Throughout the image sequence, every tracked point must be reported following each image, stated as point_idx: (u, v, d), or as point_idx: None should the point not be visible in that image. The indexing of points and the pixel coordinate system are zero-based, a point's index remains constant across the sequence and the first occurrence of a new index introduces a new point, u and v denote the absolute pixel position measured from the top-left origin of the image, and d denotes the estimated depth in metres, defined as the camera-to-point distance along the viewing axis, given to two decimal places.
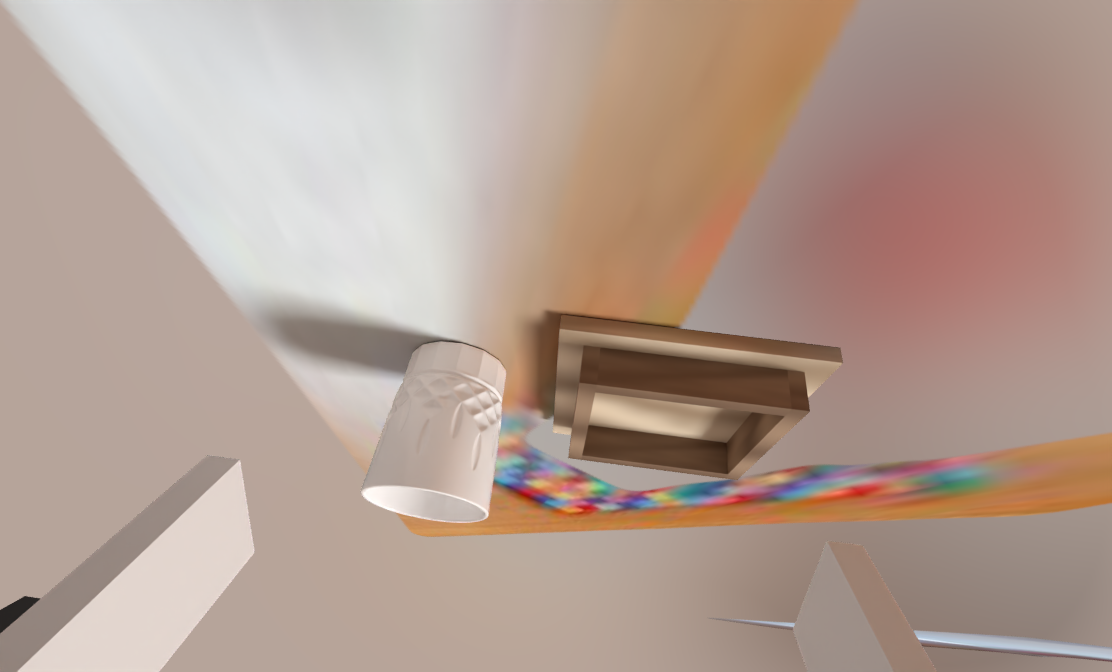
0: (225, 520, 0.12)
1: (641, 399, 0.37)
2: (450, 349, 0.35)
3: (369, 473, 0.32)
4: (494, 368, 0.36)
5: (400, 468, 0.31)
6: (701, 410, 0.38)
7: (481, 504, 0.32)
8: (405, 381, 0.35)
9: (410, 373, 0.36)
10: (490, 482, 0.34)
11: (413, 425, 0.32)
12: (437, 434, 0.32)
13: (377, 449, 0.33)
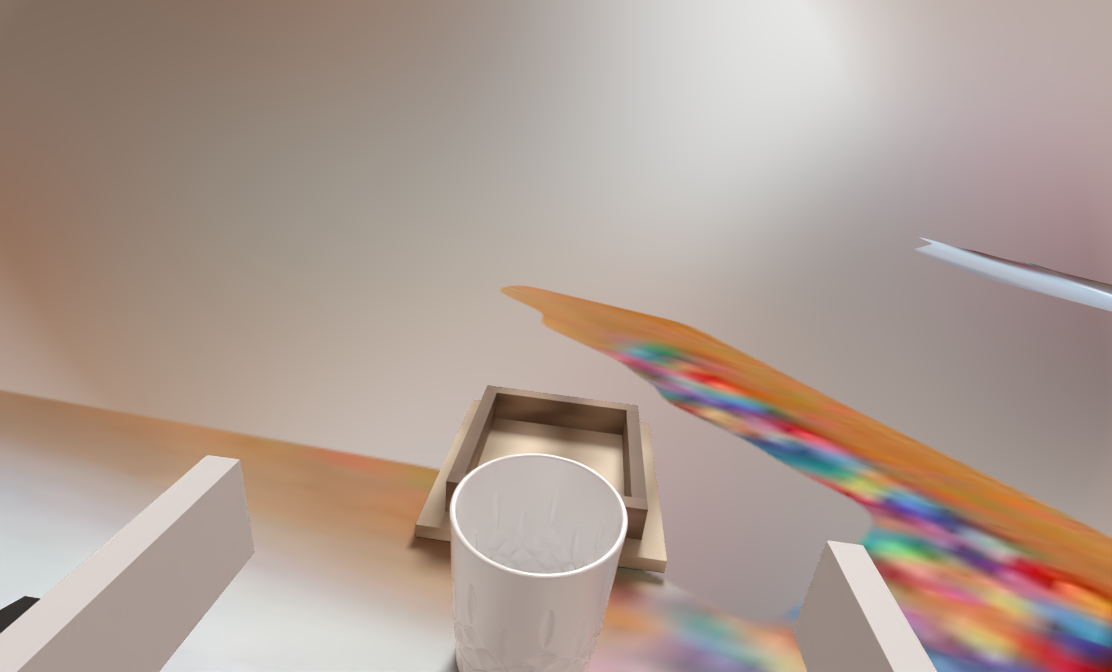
0: (225, 520, 0.12)
1: None
2: None
3: (472, 569, 0.22)
4: None
5: None
6: (558, 448, 0.43)
7: None
8: (469, 662, 0.25)
9: (468, 667, 0.25)
10: None
11: None
12: None
13: (476, 600, 0.22)
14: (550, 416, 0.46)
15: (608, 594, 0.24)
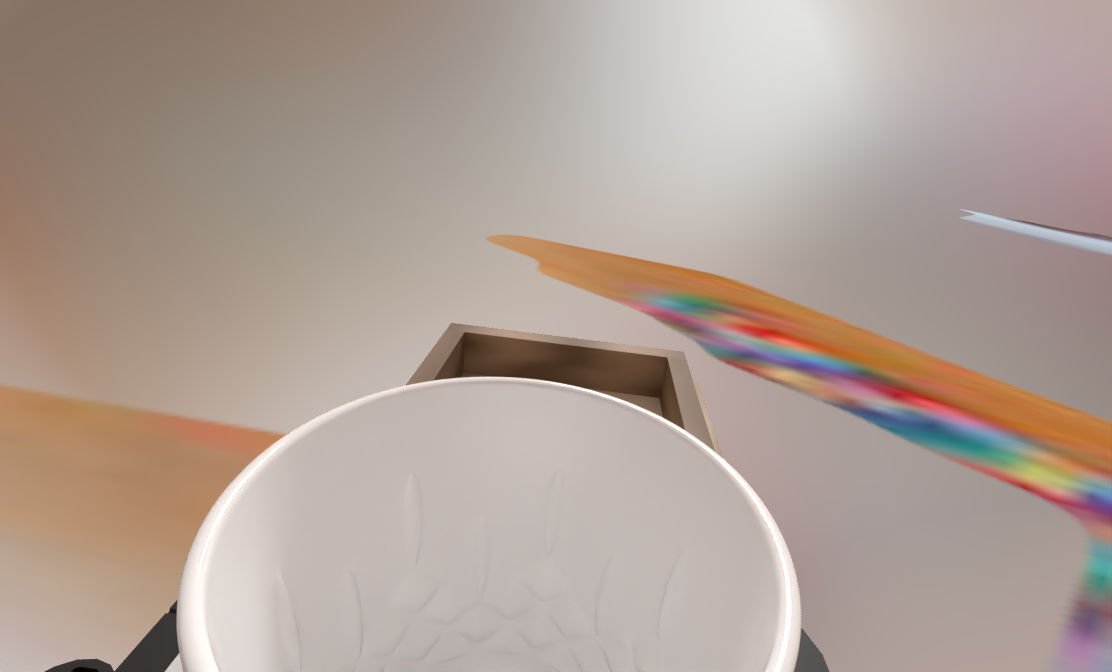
0: None
1: None
2: None
3: None
4: None
5: None
6: None
7: None
8: None
9: None
10: None
11: None
12: None
13: None
14: (548, 369, 0.30)
15: None
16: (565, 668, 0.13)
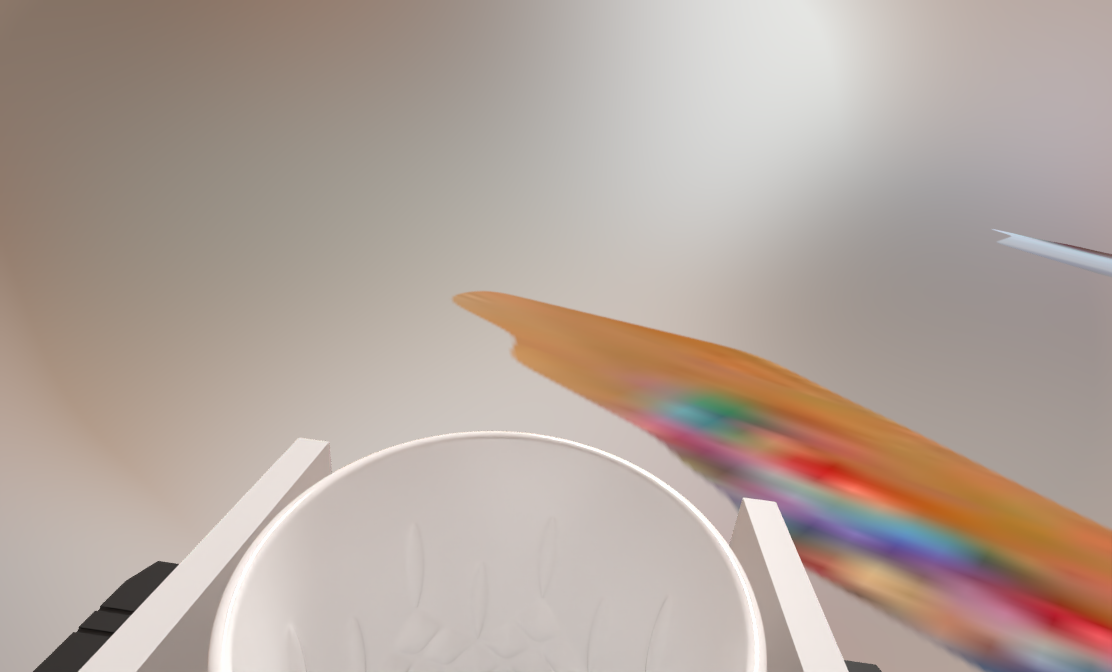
0: None
1: None
2: None
3: None
4: None
5: None
6: None
7: None
8: None
9: None
10: None
11: None
12: None
13: None
14: None
15: None
16: None
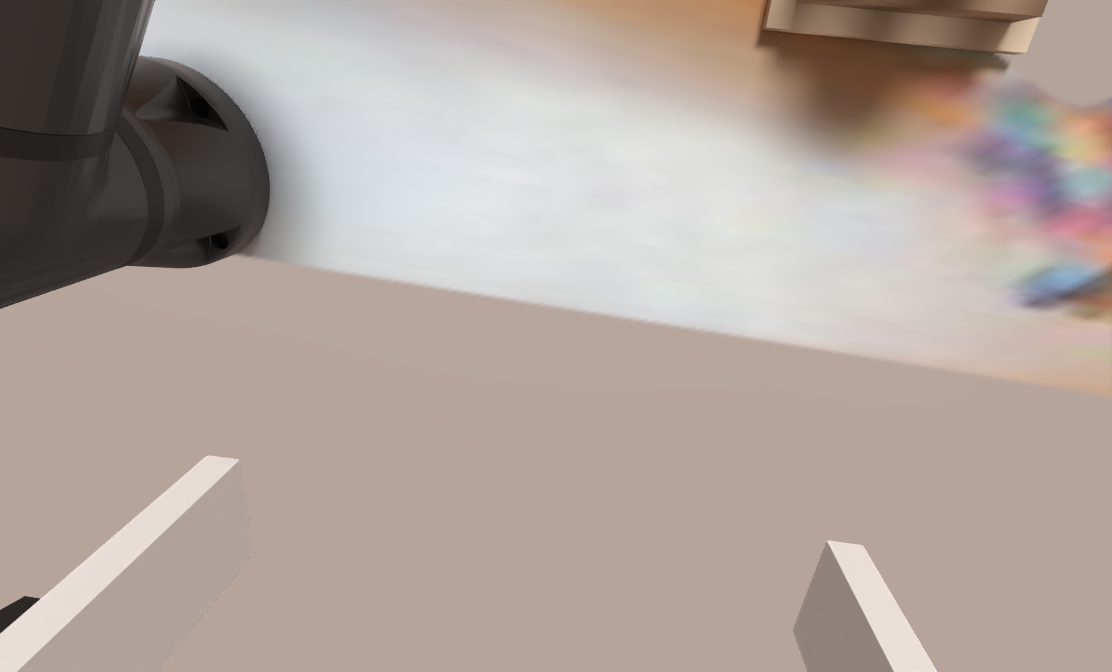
0: (225, 520, 0.12)
1: None
2: None
3: None
4: None
5: None
6: None
7: None
8: None
9: None
10: None
11: None
12: None
13: None
14: None
15: None
16: None
